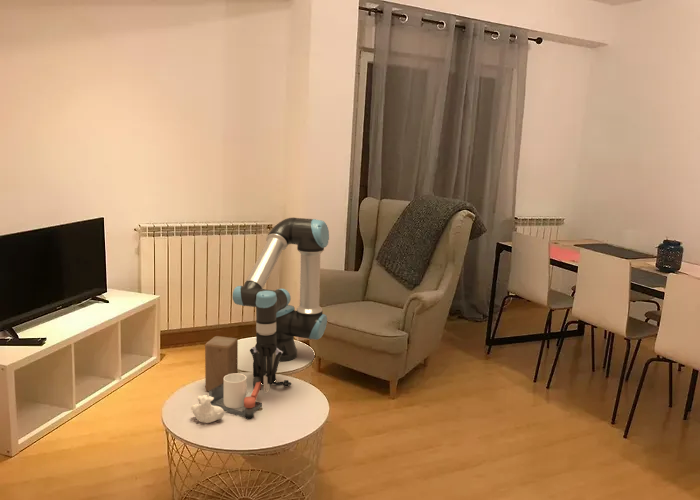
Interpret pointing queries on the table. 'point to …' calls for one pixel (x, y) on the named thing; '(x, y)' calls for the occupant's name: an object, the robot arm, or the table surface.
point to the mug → (234, 390)
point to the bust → (207, 410)
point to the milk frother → (266, 372)
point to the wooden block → (220, 360)
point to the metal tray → (242, 411)
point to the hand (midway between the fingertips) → (266, 390)
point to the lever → (253, 393)
